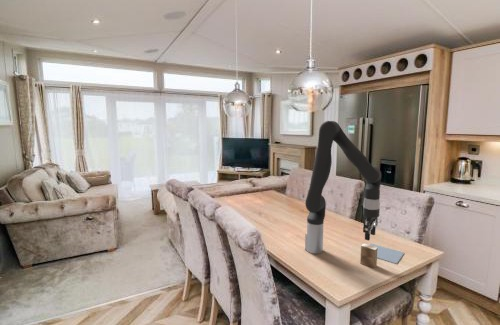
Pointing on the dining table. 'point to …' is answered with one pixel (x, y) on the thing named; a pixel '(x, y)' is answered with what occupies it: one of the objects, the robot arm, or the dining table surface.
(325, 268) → the dining table surface
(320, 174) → the robot arm
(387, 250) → the mat
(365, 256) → the slab
